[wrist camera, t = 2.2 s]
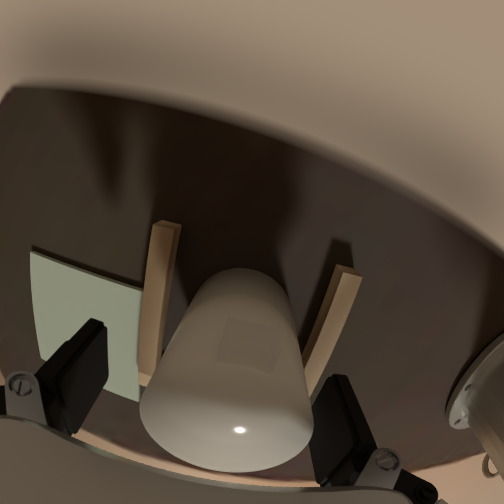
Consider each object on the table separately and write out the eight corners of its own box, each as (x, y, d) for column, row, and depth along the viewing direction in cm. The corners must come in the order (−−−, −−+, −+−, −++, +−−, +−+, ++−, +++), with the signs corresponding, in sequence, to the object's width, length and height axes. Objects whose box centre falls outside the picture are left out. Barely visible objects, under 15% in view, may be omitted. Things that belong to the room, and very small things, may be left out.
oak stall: (354, 268, 16) (362, 277, 14) (295, 406, 19) (297, 419, 17) (162, 220, 15) (152, 224, 14) (144, 371, 18) (137, 383, 17)
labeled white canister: (308, 269, 16) (354, 365, 7) (268, 380, 18) (270, 492, 9) (204, 243, 16) (142, 318, 7) (183, 360, 18) (142, 466, 9)
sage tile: (147, 289, 17) (144, 292, 16) (140, 398, 19) (138, 401, 19) (33, 250, 16) (29, 252, 16) (43, 355, 19) (41, 358, 18)
